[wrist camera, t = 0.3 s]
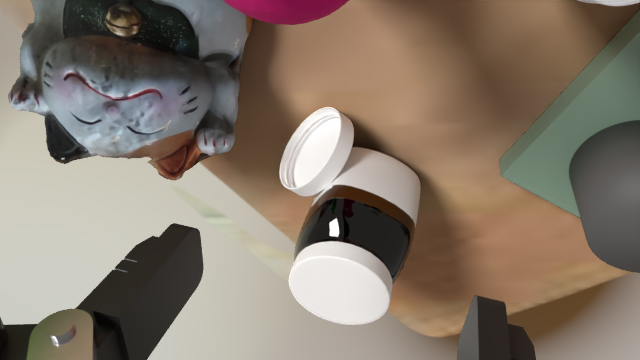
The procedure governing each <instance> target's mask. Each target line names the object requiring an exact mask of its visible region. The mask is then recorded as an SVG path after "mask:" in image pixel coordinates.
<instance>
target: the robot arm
mask: <svg viewBox="0 0 640 360" xmlns="http://www.w3.org/2000/svg"><path fill="white" fill-rule="evenodd" d="M202 274H203V257H202V247H201V238H200V232H199V230H198V229H196V228H192V227H188V226H184V225H179V224H175V223H174V224H171V225H170V226H169V227H168V228H167V229H166V230H165V232H163V234H162V235H161V236H160V237H155V236H152V237H150V238H148V239H146V240H145V241H143V242H141V243H139V244H138V245H136V246H135V247H134V248H133V249H132V250H131V251H130V252H129V253H128V254H127V256H126V257H125V259H124V260H122V261H121V262H120V263H119V264H118V265H117V266H116V267H115V270H112V271H111V272H110V273H109V274H108V275H107V277H106V278H105V279H104V280H103V281H102V282H101V283H100V284H99V285H98V286H97V287H96V288H95V289H94V290H93V291H92V292H91V293H90V294H89V295H88V296H87V297H86V298H85V299H84V300H83V301H82V303H81V304H80V305H79V306H78V307H77V308H75V309H67V310H62V311H58V312H56V313H53V314H52V315H49V316H48V317H46V318H45V319H43V320H42V321H41V322H40V323H39V324H24V325H3V323H2V321H1V318H0V360H147V359H148V357H149V355H150V354H151V353H152V351H153V350H154V348H155V347H156V346H157V344H158V343H159V341H160V340H161V338H162V337H163V336H164V334H165V333H166V331H167V329H168V328H169V327H170V325H171V324H172V323H173V321H174V319H175V318H176V317H177V315H178V314H179V312H180V311H181V310H182V308H183V307H184V305H185V304H186V302H187V301H188V300H189V298H190V297H191V295H192V294H193V292H194V291H195V290H196V288H197V287H198V285H199V283H200V281H201V278H202ZM457 360H536V357H535V351H534V346H533V344H532V342H531V340H530V339H529V337H528V335H527V334H526V332H525V330H524V329H523V327H519V326H515V325H511V324H507V314H506V305H505V303H504V302H502V301H498V300H494V299H489V298H485V297H481V296H477V295H475V296H474V298H473V300H472V303H471V306H470V309H469V311H468V314H467V317H466V320H465V323H464V326H463V329H462V331H461V335H460V339H459V345H458V354H457Z"/></svg>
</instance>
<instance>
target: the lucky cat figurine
mask: <svg viewBox="0 0 640 360" xmlns="http://www.w3.org/2000/svg"><path fill="white" fill-rule="evenodd" d="M31 3H32V5H33V9H34V12H35V18H34V23H32V24H28V27H27V29H26V30H25V31H24V33H23V34H22V38H23V42H22V45H21V48H20V49H21V50H20V77H19V78H18V79H17V81H16V83H15V84H14V85H13V87H12V89H11V91H10V93H9V95H8V98H9V102H10V104H11V105H12V107H13V108H16V109H17V110H19V111H23V110H24V111H29V112H35V113H38V114H40V115H43V116H45V126H46V134H47V141H46V142H47V146H48V150H49V152H50V156H51V157H53V158H54V159H55V160H56V161H58V162H60V163H64V164H66V163H69V162H70V161H73V160H77V159H81V158H86V157H92V156H96V155H100V156H102V157H112V158H119V157H122V158H128V159H129V158H142V157H150V158H151V159H152V160H150V161H148V163H150V164H151V165H152V166H154V168H156V169H157V170H158V173H159V175H161V176H163V177H164V178H166V179H170V180H177V179H179V178H181V177H182V175H183V173H184V172H185V171H186V170H189V169H190V168H192V167H193V166H194V165H196V164H197V163H198V162H199V161H201V160H204V159H206V158H208V157H211V156H213V155H216V154H221V153H224V152H228V151H230V150H231V148H232V146H233V145H234V142H235V136H236V134H235V122H236V119H237V114H238V107H239V104H238V102H237V99H238V93H239V88H240V87H239V84H240V67H241V61H242V55H243V50H244V46H245V42H246V39H247V37H248V36H249V34H250V30H251V26H252V21H253V18H252V17H250V16H247V15H245V14H243V13H242V12H240V11H238V10H236V9H234V8H232V7H231V6H229V5H228V4H227V3H226V2H224V1H223V0H31Z"/></svg>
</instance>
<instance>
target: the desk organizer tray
mask: <svg viewBox="0 0 640 360" xmlns="http://www.w3.org/2000/svg"><path fill="white" fill-rule="evenodd" d="M499 163H500V174H501V177H503V178H505V179H507V180H509V181H511V182H513V183H515V184H517V185H518V186H520V187H522V188H524V189H526V190H528V191H530V192H532V193H534V194H536V195H537V196H539V197H541V198H543V199H545V200H547V201H549V202H551V203H553V204H555V205H556V206H558V207H560V208H562V209H564V210H566V211H568V212H570V213H572V214H574V215H575V216H577V217H579V218H581V221H582V225H583V228H584V232H585V236H586V239H587V242H588V245H589V247H590V249H591V250H592V252H593V253H594V254H595V255H596V256H597V257H598V258H600V259H601V260H602V261H604V262H606V263H607V264H609V265H611V266H614V267H616V268H619V269H622V270H626V271H631V272H638V273H640V9H639V10H638V12H637V13H636V14H635V15H634V16H633V17H632V18H631V19H630V20H629V21H628V22H627V23H626V24H625V26H624V27H623V28H622V29H621V30H620V31H619V32H618V33H617V34H616V35H615V36H614V37H613V38H612V40H611V41H610V42H609V43H608V44H607V45H606V46H605V47H604V48H603V49H602V50H601V51H600V52H599V54H598V55H597V56H596V57H595V58H594V59H593V60H592V61H591V62H590V63H589V64H588V65H587V66H586V67H585V69H584V70H583V71H582V72H581V73H580V74H579V75H578V76H577V77H576V78H575V79H574V80H573V81H572V83H571V84H570V85H569V86H568V87H567V88H566V89H565V90H564V91H563V92H562V93H561V94H560V95H559V97H558V98H557V99H556V100H555V101H554V102H553V103H552V104H551V105H550V106H549V107H548V108H547V109H546V111H545V112H544V113H543V114H542V115H541V116H540V117H539V118H538V119H537V120H536V121H535V122H534V123H533V124H532V126H531V127H530V128H529V129H528V130H527V131H526V132H525V133H524V134H523V135H522V136H521V137H520V138H519V140H518V141H517V142H516V143H515V144H514V145H513V146H512V147H511V148H510V149H509V150H508V151H507V152H506V154H505V155H504V156H503V157H502V158H501V159H500V160H499Z"/></svg>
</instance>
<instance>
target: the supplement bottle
mask: <svg viewBox="0 0 640 360" xmlns="http://www.w3.org/2000/svg"><path fill="white" fill-rule="evenodd" d="M578 1H581V2H585V3H594V4H603V5H608V6H626V5H632V4H636V3H639V2H640V0H578Z"/></svg>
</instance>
